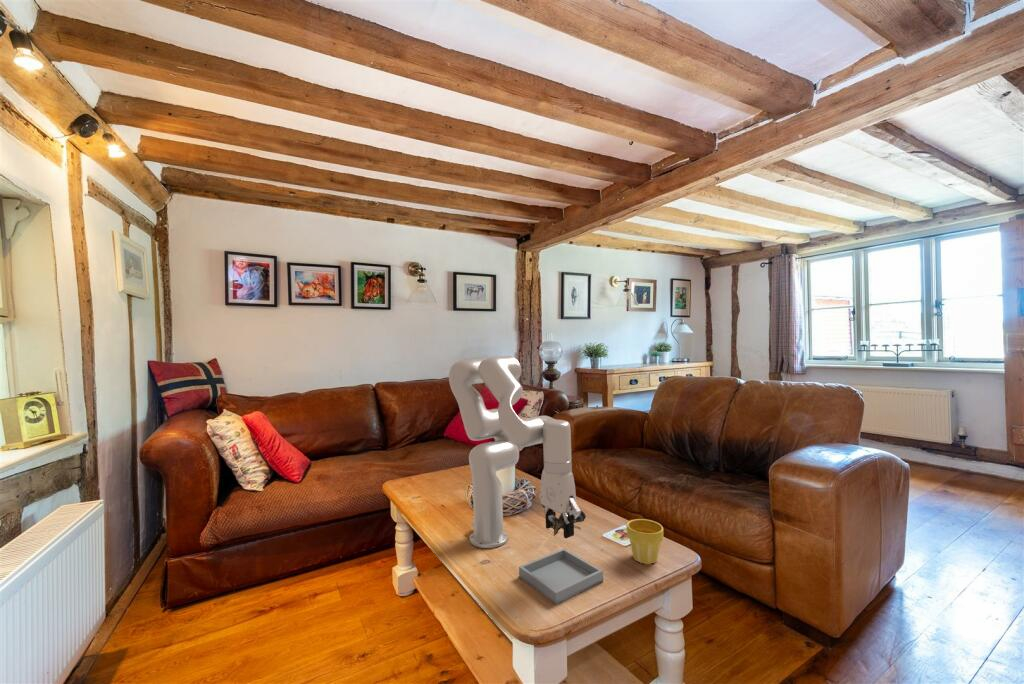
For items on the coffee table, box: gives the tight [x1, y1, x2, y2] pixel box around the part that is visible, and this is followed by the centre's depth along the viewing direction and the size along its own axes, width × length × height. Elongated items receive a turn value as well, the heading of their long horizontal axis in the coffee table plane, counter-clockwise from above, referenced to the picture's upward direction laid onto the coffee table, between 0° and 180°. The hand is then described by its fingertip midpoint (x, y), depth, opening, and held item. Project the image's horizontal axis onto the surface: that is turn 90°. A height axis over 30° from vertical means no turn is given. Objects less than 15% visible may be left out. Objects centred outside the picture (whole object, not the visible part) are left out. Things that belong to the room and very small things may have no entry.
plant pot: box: [626, 518, 664, 565], centre depth 128 cm, size 10×10×10 cm
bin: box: [518, 548, 604, 606], centre depth 119 cm, size 16×17×3 cm
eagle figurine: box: [548, 509, 587, 537], centre depth 120 cm, size 8×7×9 cm
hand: (559, 531), depth 118 cm, fingers closed on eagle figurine, 6 cm apart
